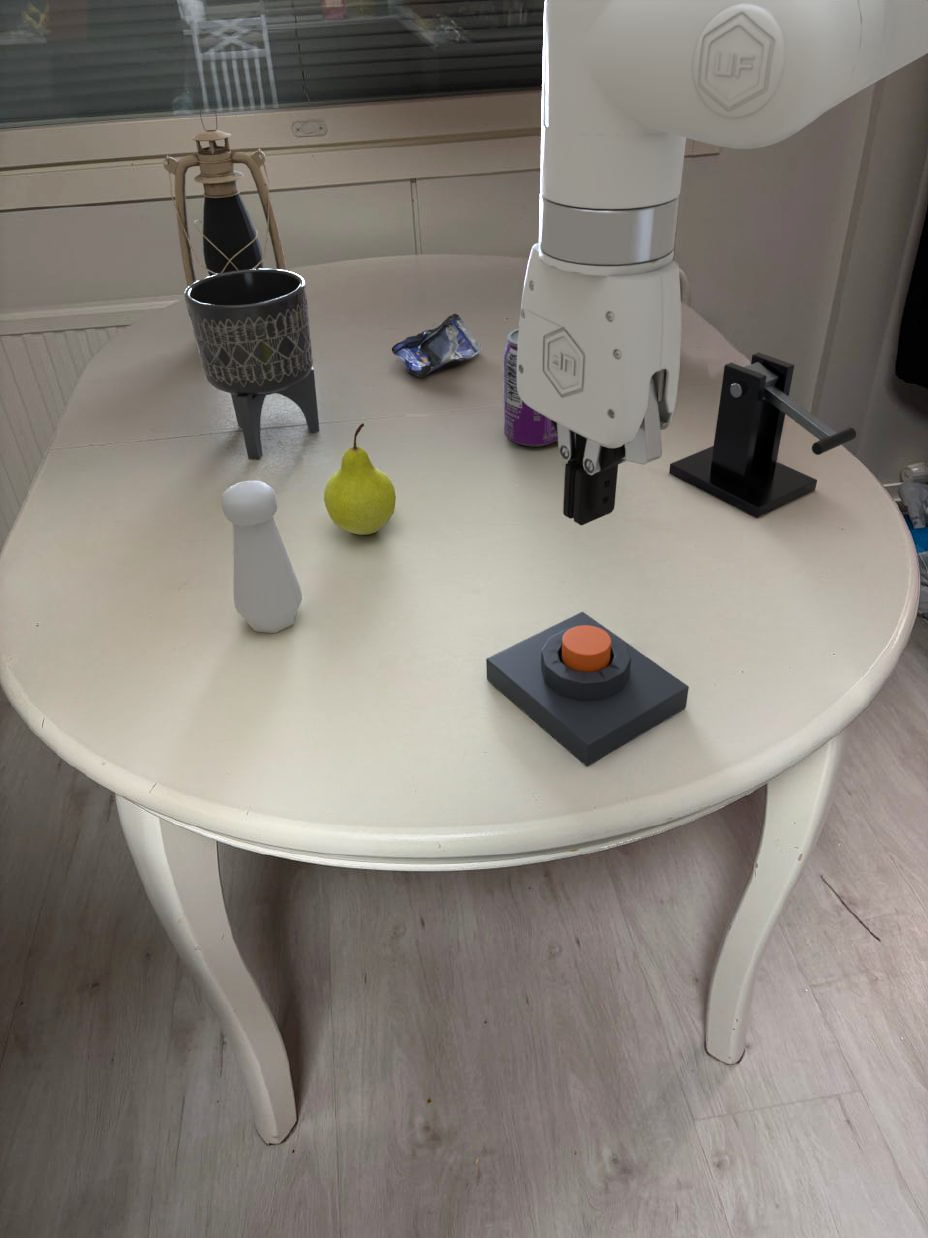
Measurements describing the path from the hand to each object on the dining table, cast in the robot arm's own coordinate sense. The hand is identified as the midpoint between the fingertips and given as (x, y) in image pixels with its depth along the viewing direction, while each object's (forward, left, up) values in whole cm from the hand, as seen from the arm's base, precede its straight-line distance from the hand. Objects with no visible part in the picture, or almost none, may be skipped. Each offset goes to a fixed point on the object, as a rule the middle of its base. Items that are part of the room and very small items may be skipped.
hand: (588, 513), depth 62 cm
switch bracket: (+15, -35, -16) cm, 41 cm away
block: (0, 0, -16) cm, 16 cm away
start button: (0, 0, -12) cm, 13 cm away
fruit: (+32, +1, -16) cm, 36 cm away
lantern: (+92, -14, -16) cm, 94 cm away
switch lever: (+11, -35, -7) cm, 37 cm away
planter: (+57, -1, -16) cm, 59 cm away
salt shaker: (+24, +15, -16) cm, 32 cm away
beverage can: (+37, -25, -16) cm, 47 cm away
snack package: (+63, -29, -16) cm, 71 cm away
